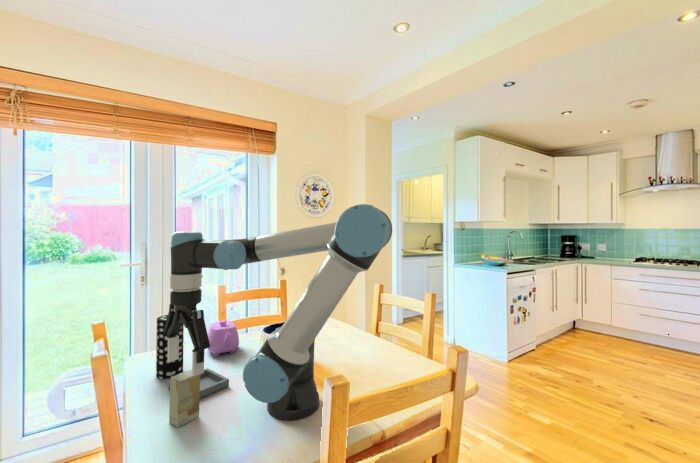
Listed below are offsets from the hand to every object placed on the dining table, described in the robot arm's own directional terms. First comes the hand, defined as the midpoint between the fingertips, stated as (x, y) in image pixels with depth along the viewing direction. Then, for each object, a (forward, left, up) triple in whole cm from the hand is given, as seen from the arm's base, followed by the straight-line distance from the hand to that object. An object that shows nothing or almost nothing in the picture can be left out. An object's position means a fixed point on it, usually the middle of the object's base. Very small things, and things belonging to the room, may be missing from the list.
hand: (184, 367), depth 87 cm
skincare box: (0, 0, -15) cm, 15 cm away
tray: (+13, -11, -14) cm, 22 cm away
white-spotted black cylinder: (+31, -10, -15) cm, 36 cm away
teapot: (+35, -33, -15) cm, 50 cm away
